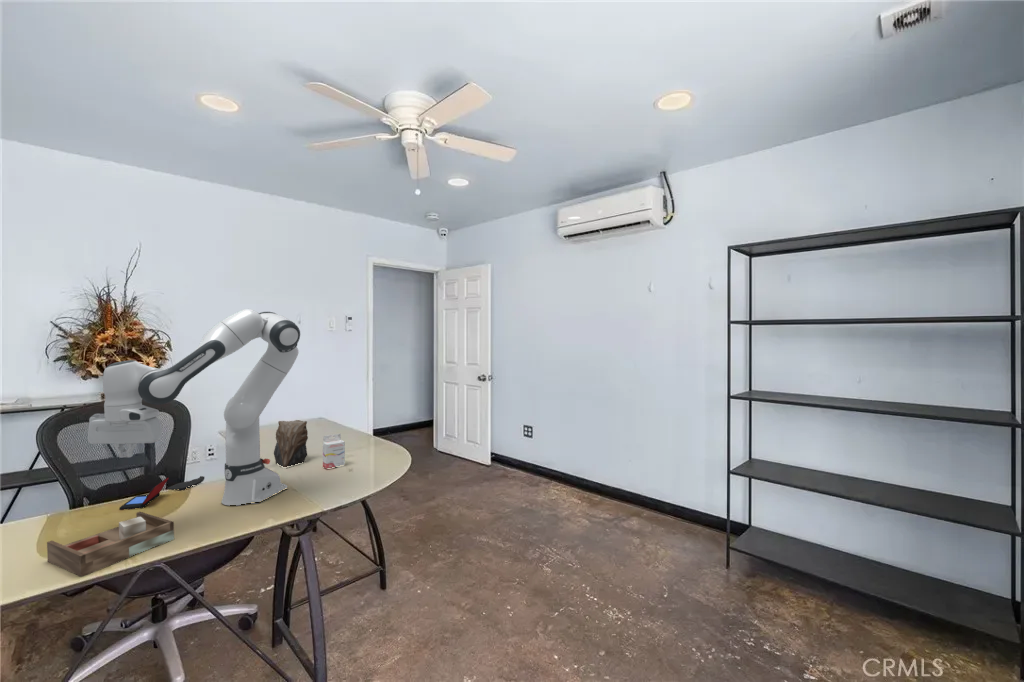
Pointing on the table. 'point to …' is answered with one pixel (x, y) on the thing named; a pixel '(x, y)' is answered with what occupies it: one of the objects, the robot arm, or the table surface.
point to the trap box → (109, 546)
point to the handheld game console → (144, 497)
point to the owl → (291, 442)
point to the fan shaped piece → (187, 484)
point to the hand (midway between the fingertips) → (126, 457)
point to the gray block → (131, 527)
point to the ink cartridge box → (333, 451)
